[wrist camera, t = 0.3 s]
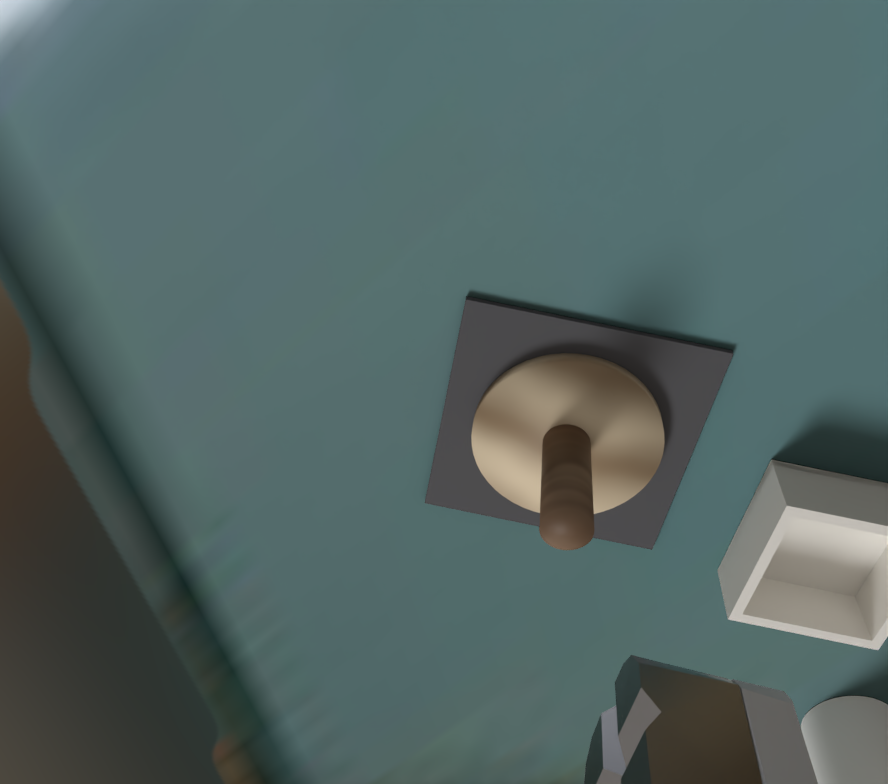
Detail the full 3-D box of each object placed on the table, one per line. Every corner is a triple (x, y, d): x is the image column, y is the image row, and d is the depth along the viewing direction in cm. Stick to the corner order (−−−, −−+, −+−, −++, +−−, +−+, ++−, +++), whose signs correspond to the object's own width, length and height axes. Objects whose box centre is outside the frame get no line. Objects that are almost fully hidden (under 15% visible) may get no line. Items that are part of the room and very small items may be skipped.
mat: (466, 296, 50) (465, 299, 50) (732, 350, 50) (733, 353, 50) (425, 499, 59) (424, 503, 59) (651, 545, 59) (652, 549, 59)
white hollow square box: (771, 459, 54) (786, 505, 50) (926, 491, 54) (953, 539, 50) (717, 570, 59) (727, 619, 56) (858, 599, 59) (878, 650, 56)
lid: (492, 335, 51) (480, 420, 43) (688, 375, 51) (710, 468, 43) (458, 486, 58) (442, 583, 50) (632, 522, 57) (642, 624, 50)
